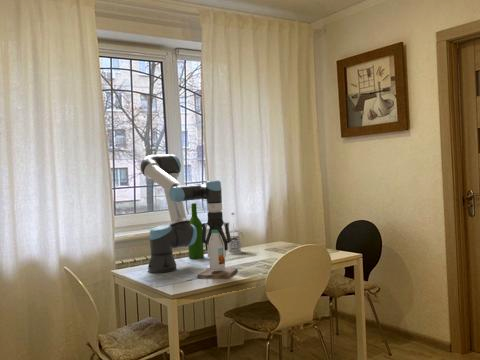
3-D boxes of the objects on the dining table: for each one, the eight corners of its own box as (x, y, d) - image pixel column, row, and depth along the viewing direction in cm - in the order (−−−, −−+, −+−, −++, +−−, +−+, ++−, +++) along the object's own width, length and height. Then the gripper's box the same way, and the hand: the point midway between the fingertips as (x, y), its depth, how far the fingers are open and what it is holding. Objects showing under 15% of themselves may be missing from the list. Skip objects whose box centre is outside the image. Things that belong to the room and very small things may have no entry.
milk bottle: (213, 271, 240) (211, 230, 239) (207, 268, 247) (205, 229, 246) (227, 268, 243) (226, 229, 243) (221, 266, 250) (219, 227, 250)
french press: (224, 252, 305) (222, 212, 304) (240, 250, 310) (239, 211, 309) (230, 254, 296) (228, 213, 295) (247, 252, 301) (245, 212, 300)
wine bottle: (205, 255, 296) (202, 202, 295) (201, 258, 287) (199, 204, 286) (191, 256, 297) (188, 203, 296) (187, 259, 289) (184, 204, 287)
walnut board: (197, 278, 240) (197, 275, 240) (208, 270, 255) (208, 267, 255) (228, 278, 235) (228, 275, 235) (237, 271, 251) (237, 268, 251)
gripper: (193, 212, 243) (195, 257, 244) (232, 211, 238) (234, 258, 239) (198, 210, 250) (200, 254, 251) (236, 210, 245) (238, 255, 246)
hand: (217, 256), depth 245 cm, fingers closed on milk bottle, 7 cm apart
